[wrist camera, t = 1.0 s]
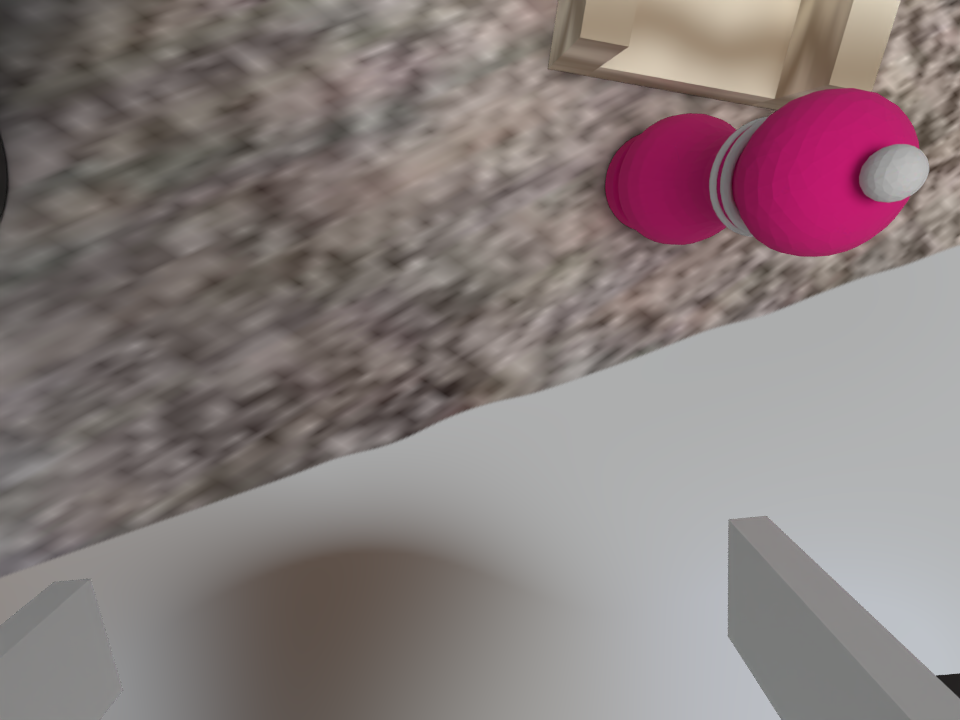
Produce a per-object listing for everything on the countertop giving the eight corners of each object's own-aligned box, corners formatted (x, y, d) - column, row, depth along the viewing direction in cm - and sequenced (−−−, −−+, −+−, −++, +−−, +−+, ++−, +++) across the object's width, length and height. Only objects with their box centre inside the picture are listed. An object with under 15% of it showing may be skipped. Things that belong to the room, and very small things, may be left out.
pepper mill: (662, 97, 34) (972, -23, 15) (723, 187, 36) (1062, 183, 17) (575, 177, 35) (760, 161, 16) (639, 260, 37) (870, 335, 18)
